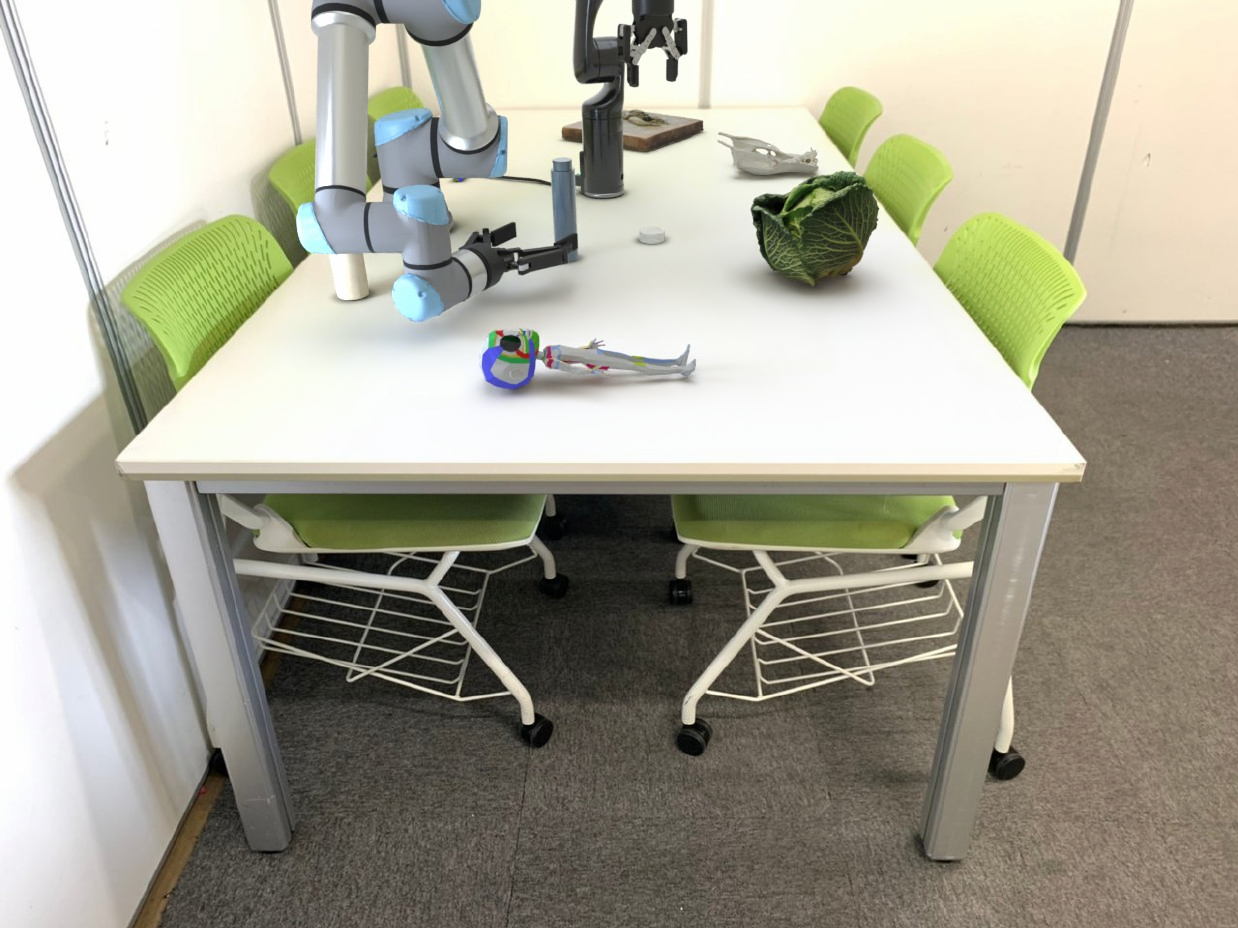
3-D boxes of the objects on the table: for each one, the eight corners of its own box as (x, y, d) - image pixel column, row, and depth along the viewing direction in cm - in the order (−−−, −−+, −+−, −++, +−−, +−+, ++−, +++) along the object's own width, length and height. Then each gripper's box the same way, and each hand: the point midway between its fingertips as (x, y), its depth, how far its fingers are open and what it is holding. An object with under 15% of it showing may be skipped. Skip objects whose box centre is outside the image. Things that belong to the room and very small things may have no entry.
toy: (701, 358, 123) (480, 340, 118) (690, 412, 127) (477, 397, 122) (689, 328, 131) (482, 310, 127) (679, 379, 136) (479, 364, 131)
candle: (375, 290, 158) (366, 235, 153) (358, 302, 154) (348, 245, 149) (348, 287, 160) (338, 232, 155) (330, 298, 156) (319, 242, 150)
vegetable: (776, 302, 169) (727, 209, 161) (858, 246, 170) (814, 150, 162) (827, 317, 151) (775, 212, 143) (918, 253, 152) (872, 146, 144)
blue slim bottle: (569, 253, 174) (564, 155, 164) (583, 258, 171) (579, 159, 162) (550, 258, 172) (545, 159, 162) (564, 264, 169) (559, 164, 159)
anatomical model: (719, 128, 226) (819, 127, 222) (718, 166, 231) (817, 165, 227) (715, 142, 213) (822, 141, 210) (715, 181, 218) (819, 181, 215)
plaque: (647, 125, 237) (559, 112, 252) (647, 153, 241) (560, 139, 256) (706, 107, 258) (622, 97, 273) (705, 133, 262) (622, 121, 277)
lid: (640, 244, 178) (640, 235, 177) (638, 236, 182) (638, 227, 181) (665, 243, 178) (666, 234, 177) (663, 235, 183) (663, 226, 182)
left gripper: (416, 279, 155) (491, 244, 170) (534, 306, 144) (603, 266, 159) (410, 237, 151) (488, 205, 166) (531, 261, 140) (602, 224, 155)
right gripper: (672, -19, 162) (670, 77, 171) (607, -15, 155) (609, 85, 164) (698, -17, 157) (695, 82, 165) (632, -12, 150) (633, 91, 159)
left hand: (544, 234), depth 163 cm, fingers open, 13 cm apart
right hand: (652, 84), depth 165 cm, fingers open, 8 cm apart
